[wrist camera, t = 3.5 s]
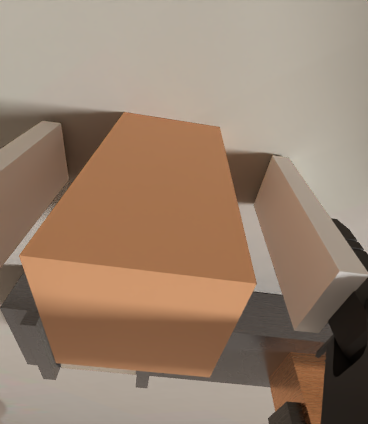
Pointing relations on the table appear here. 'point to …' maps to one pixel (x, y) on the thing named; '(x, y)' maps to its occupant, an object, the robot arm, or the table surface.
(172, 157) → the tall peach prism
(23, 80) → the table surface
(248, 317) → the rail
